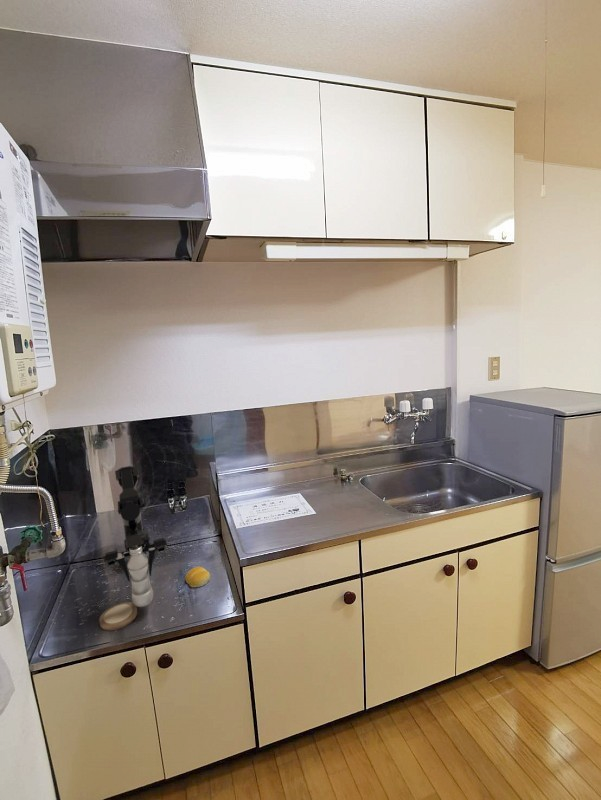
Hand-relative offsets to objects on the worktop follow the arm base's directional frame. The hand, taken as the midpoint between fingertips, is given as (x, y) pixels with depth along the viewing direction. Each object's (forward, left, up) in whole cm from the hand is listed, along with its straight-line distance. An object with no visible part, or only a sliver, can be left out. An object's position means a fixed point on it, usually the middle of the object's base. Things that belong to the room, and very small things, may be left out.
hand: (140, 578), depth 124 cm
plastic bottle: (-1, +1, -10) cm, 10 cm away
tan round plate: (-6, -6, -13) cm, 16 cm away
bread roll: (-1, +21, -14) cm, 25 cm away
